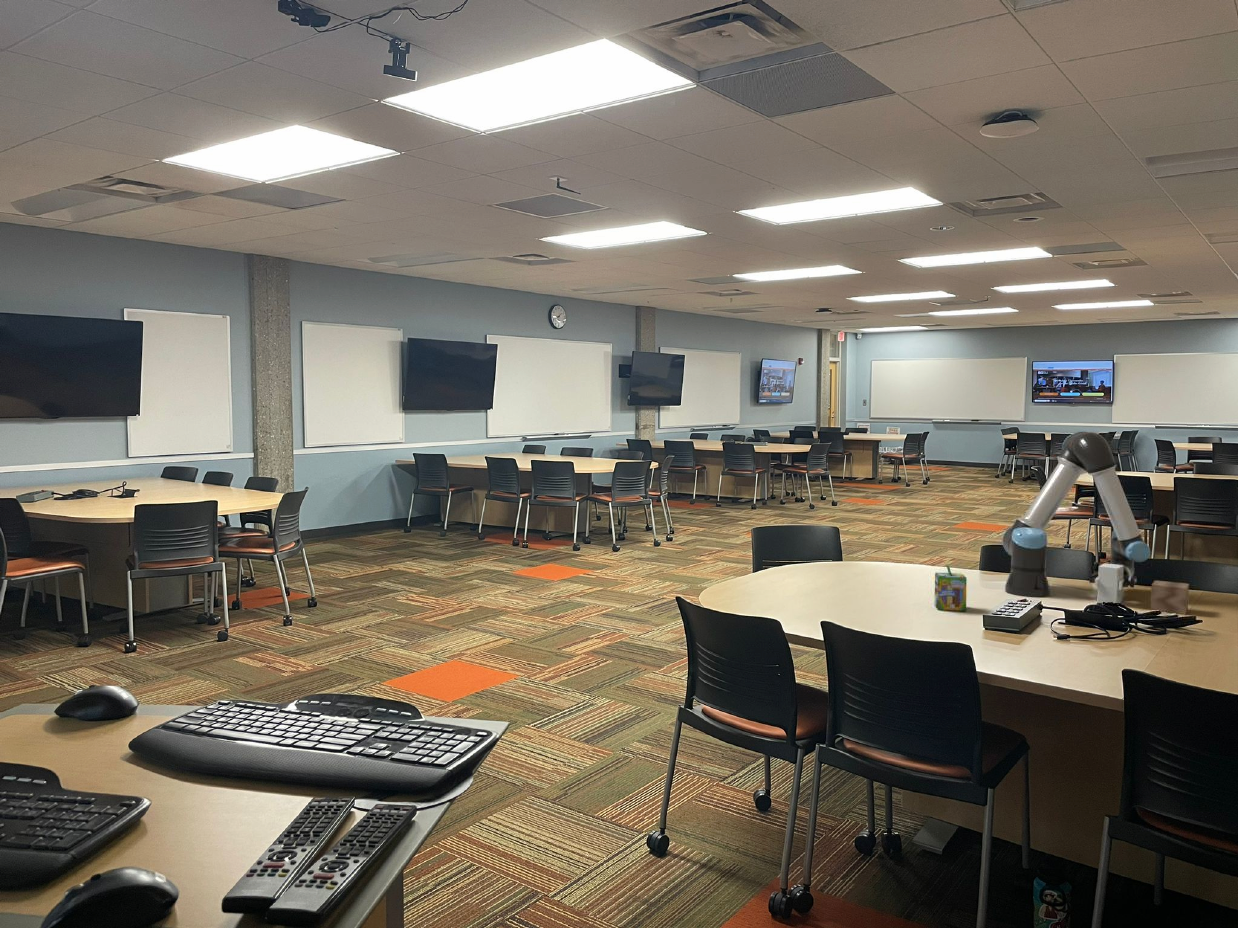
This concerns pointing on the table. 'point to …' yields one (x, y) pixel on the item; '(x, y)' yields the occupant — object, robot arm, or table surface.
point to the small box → (1109, 583)
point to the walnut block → (1169, 597)
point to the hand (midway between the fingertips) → (1108, 584)
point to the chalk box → (950, 591)
